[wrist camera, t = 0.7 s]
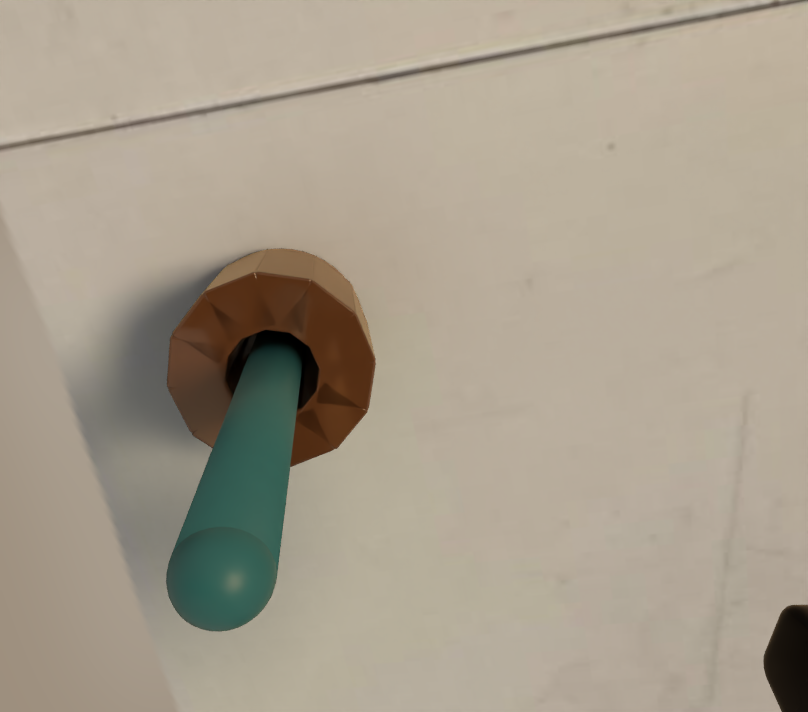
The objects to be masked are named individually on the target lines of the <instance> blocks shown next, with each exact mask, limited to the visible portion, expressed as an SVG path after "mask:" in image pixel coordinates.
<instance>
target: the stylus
mask: <svg viewBox="0 0 808 712" xmlns="http://www.w3.org/2000/svg"><path fill="white" fill-rule="evenodd" d="M304 347H305V344H304V343H302V342H301V341H300V340H298V339H297V338H296V337H294V336H293V335H291V334H290V333H285V332H278V331H270V330H264V331H261V332H259V333H257V335H256V338H255V341H254V343H253V346H252V348H251V351H250V353H249V356H248V359H247V361H246V364H245V366H244V369H243V372H242V374H241V377H240V379H239V382H238V385H237V387H236V390H235V392H234V395H233V397H232V400H231V403H230V405H229V408H228V410H227V413H226V416H225V418H224V421H223V423H222V426H221V428H220V431H219V434H218V436H217V439H216V441H215V444H214V447H213V449H212V452H211V454H210V457H209V460H208V462H207V465H206V467H205V470H204V472H203V475H202V478H201V480H200V483H199V485H198V488H197V491H196V493H195V496H194V498H193V501H192V503H191V506H190V509H189V511H188V514H187V516H186V519H185V522H184V524H183V527H182V529H181V532H180V535H179V537H178V540H177V542H176V545H175V547H174V550H173V553H172V555H171V558H170V561H169V564H168V569H167V578H166V583H167V590H168V595H169V598H170V600H171V603H172V605H173V606H174V608H175V610H176V611H177V612H178V614H179V615H180V616H181V617H182V618H183V619H184V620H185V621H186V622H188V623H190V624H191V625H193V626H195V627H198V628H200V629H204V630H209V631H227V630H232V629H235V628H238V627H240V626H242V625H244V624H246V623H248V622H249V621H251V620H252V619H253V618H255V617H256V616H257V615H258V614H259V613H260V612H261V611H262V610H263V609H264V607H265V606H266V604H267V603H268V601H269V599H270V598H271V596H272V593H273V590H274V587H275V584H276V579H277V571H278V562H279V554H280V546H281V538H282V529H283V521H284V513H285V505H286V496H287V488H288V480H289V472H290V463H291V455H292V447H293V438H294V430H295V422H296V414H297V405H298V397H299V389H300V381H301V372H302V364H303V356H304Z"/></svg>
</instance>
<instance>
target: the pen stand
mask: <svg viewBox="0 0 808 712" xmlns="http://www.w3.org/2000/svg"><path fill="white" fill-rule="evenodd" d="M264 330H270V331H278V332H285V333H290V334H291V335H293V336H294V337H296V338H297V339H298V340H300V341H301V342H302V343H304V344H305V347H304V356H303V364H302V372H301V381H300V389H299V397H298V405H297V414H296V422H295V430H294V438H293V447H292V455H291V463H290V467H292V466H294V465H297V464H299V463H302V462H304V461H307V460H309V459H312V458H314V457H317V456H319V455H322V454H325V453H327V452H330V451H332V450H334V449H337V448H338V447H339V446H340V444H341V443H342V442H343V441H344V440H345V438H346V437H347V436H348V435H349V434H350V432H351V431H352V430H353V429H354V428H355V426H356V425H357V424H358V423H359V422H360V420H361V419H362V418H363V417H364V415H365V414H366V413H367V411H368V408H369V404H370V397H371V391H372V384H373V378H374V372H375V365H376V362H375V360H376V359H375V355H374V350H373V346H372V341H371V337H370V332H369V328H368V323H367V320H366V318H365V315H364V313H363V310H362V308H361V305H360V302H359V299H358V297H357V295H356V293H355V291H354V289H353V286H352V284H350V282H349V281H348V280H347V279H346V278H345V277H344V276H343V275H342V274H341V273H340V272H339V271H338V270H337V269H336V268H334V267H333V266H332V265H330V264H329V263H327V262H326V261H324V260H323V259H321V258H319V257H317V256H315V255H312V254H309V253H306V252H303V251H298V250H294V249H282V248H281V249H266V250H263V251H258V252H255V253H252V254H249V255H247V256H245V257H243V258H241V259H239V260H237V261H236V262H233V263H231V264H228V265H227V266H226V267H225V268H224V269H223V270H222V271H221V272H220V273H219V274H218V276H217V277H216V278H215V279H214V280H213V281H212V282H211V283H210V285H209V286H208V287H207V288H206V289H205V290H204V291H203V293H202V294H201V295H200V296H199V298H198V299H197V300H196V302H195V303H194V304H193V306H192V307H191V308H190V310H189V311H188V312H187V314H186V315H185V316H184V318H183V319H182V320H181V322H180V323H179V324H178V326H177V327H176V328H175V330H174V331H173V333H172V336H171V337H170V346H169V360H168V374H167V387H168V390H169V392H170V394H171V396H172V398H173V400H174V402H175V404H176V406H177V408H178V409H179V411H180V413H181V415H182V417H183V419H184V421H185V423H186V425H187V427H188V428H189V430H190V431H191V432H192V435H193V436H195V437H196V438H198V439H199V440H201V441H202V442H204V443H205V444H207V445H208V446H210V447H212V448H213V447H214V444H215V441H216V439H217V436H218V434H219V431H220V428H221V426H222V423H223V421H224V418H225V416H226V413H227V410H228V408H229V405H230V403H231V400H232V397H233V395H234V392H235V390H236V387H237V385H238V382H239V379H240V377H241V374H242V372H243V369H244V366H245V364H246V361H247V359H248V356H249V353H250V351H251V348H252V346H253V343H254V341H255V338H256V335H257V333H259V332H261V331H264Z"/></svg>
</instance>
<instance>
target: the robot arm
mask: <svg viewBox="0 0 808 712" xmlns="http://www.w3.org/2000/svg"><path fill="white" fill-rule="evenodd" d="M764 670H765V674H766V677H767V680H768V682H769V684H770V687H771V689H772V691H773V693H774V695H775V698H776V700H777V702H778V704H779V706H780V709H781V711H782V712H808V605H791V606H788V607H786V608H785V609H784V610H783V611H782V613H781V614H780V617H779V619H778V622H777V624H776V627H775V629H774V631H773V634H772V636H771V639H770V641H769V644H768V646H767V649H766V651H765V654H764Z"/></svg>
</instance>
